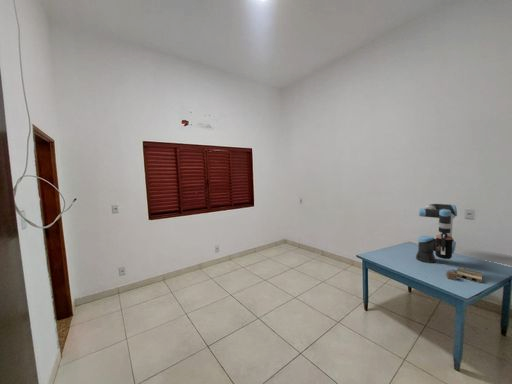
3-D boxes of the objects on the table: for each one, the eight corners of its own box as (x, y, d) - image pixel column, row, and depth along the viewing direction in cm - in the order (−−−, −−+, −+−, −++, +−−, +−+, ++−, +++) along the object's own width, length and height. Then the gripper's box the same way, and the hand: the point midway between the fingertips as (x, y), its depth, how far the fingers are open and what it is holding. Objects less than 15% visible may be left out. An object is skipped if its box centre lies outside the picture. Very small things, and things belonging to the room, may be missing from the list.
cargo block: (446, 276, 173) (446, 270, 172) (454, 277, 170) (454, 271, 170) (448, 279, 168) (448, 273, 168) (456, 280, 166) (456, 274, 165)
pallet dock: (457, 270, 180) (457, 267, 180) (481, 276, 170) (481, 272, 170) (456, 277, 171) (456, 273, 170) (481, 283, 160) (482, 279, 160)
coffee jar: (432, 254, 186) (432, 235, 185) (444, 254, 186) (445, 234, 184) (442, 259, 176) (443, 239, 174) (455, 259, 175) (456, 238, 174)
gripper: (440, 224, 189) (439, 247, 191) (437, 230, 173) (436, 255, 175) (451, 225, 184) (450, 249, 186) (449, 231, 168) (448, 257, 170)
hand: (443, 252), depth 181 cm, fingers closed on coffee jar, 10 cm apart
